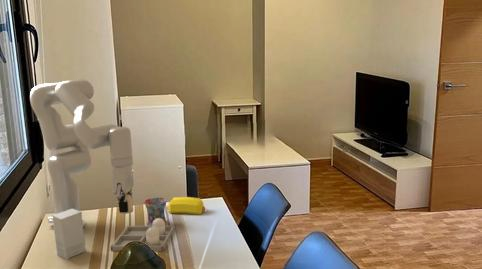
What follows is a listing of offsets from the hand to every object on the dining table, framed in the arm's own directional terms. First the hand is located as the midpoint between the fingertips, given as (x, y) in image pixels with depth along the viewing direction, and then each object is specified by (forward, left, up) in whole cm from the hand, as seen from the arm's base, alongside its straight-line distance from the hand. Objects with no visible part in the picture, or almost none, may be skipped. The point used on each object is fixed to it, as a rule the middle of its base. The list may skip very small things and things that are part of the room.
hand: (126, 208), depth 170 cm
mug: (+5, +22, -15) cm, 27 cm away
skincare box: (-20, -6, -15) cm, 25 cm away
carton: (+4, +5, -15) cm, 16 cm away
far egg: (+9, 0, -14) cm, 17 cm away
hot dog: (+15, +36, -15) cm, 42 cm away
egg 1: (0, 0, -1) cm, 1 cm away
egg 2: (+9, +9, -14) cm, 19 cm away
